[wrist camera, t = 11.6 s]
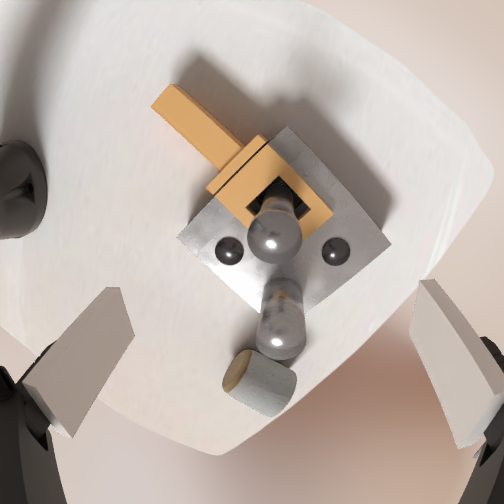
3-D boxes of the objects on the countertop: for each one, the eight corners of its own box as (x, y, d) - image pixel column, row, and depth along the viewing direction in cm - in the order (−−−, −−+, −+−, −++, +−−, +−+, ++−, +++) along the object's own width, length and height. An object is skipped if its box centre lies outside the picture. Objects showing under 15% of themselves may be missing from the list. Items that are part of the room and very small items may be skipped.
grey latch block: (187, 225, 35) (146, 270, 24) (286, 125, 30) (288, 123, 19) (281, 312, 39) (278, 379, 28) (381, 231, 33) (419, 279, 22)
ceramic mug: (250, 335, 41) (242, 375, 34) (298, 361, 42) (298, 401, 35) (214, 375, 45) (203, 413, 38) (258, 397, 46) (253, 434, 39)
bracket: (155, 121, 31) (136, 121, 26) (197, 75, 29) (182, 67, 24) (281, 242, 35) (280, 260, 30) (327, 201, 33) (334, 214, 28)
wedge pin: (278, 220, 34) (273, 273, 22) (254, 196, 33) (235, 237, 21) (303, 197, 33) (313, 239, 21) (278, 172, 32) (275, 200, 20)
